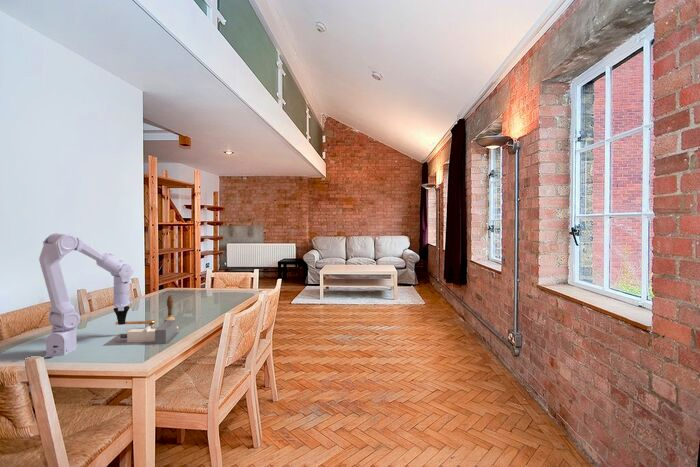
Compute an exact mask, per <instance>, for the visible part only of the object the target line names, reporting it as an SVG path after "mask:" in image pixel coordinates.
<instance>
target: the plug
mask: <svg viewBox="0 0 700 467" xmlns="http://www.w3.org/2000/svg"><path fill="white" fill-rule="evenodd" d="M156 329H157V328H154V329H151V326H146V327H145V328H131V329H130V330H128V331H127V332H126V333H120V334H121V336H120V338H127V343H128V342H155V330H156Z"/></svg>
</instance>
